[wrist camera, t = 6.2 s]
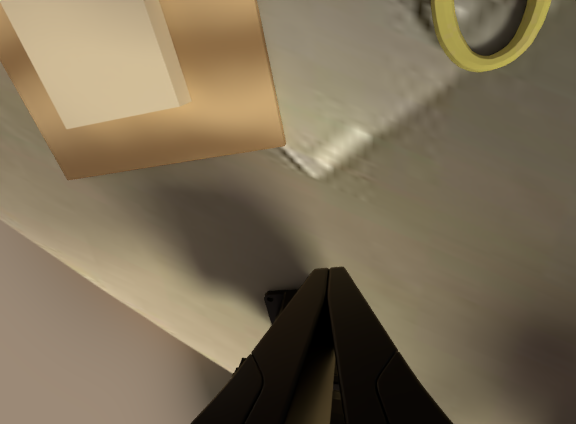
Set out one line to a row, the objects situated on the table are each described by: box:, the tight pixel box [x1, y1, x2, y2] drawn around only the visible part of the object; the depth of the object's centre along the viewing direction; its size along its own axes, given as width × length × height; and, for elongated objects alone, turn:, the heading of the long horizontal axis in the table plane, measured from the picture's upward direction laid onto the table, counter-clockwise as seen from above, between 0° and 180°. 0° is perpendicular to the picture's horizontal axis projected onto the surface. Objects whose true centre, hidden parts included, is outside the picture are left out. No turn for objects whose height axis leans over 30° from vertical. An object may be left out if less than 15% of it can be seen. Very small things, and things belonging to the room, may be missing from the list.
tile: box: [0, 0, 192, 129], centre depth 17 cm, size 7×2×8 cm
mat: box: [0, 0, 286, 180], centre depth 18 cm, size 14×16×1 cm
